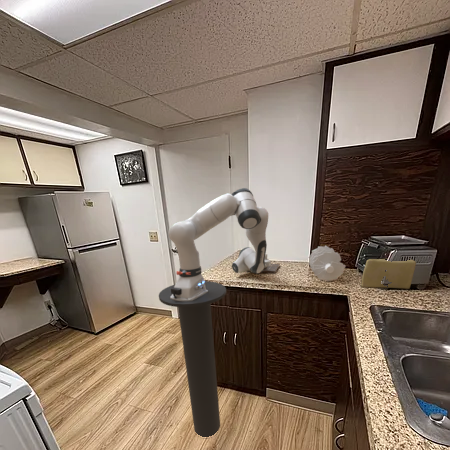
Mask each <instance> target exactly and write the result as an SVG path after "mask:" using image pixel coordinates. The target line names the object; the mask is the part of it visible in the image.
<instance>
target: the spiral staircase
mask: <svg viewBox="0 0 450 450" xmlns="http://www.w3.org/2000/svg"><path fill="white" fill-rule="evenodd" d="M308 259H309V260H308V265H309V268H310V269H311V272H312V273H313V276H314V277H317V278H318V279H319V280H320V281H326V282H330V281H334V280H338V278H339V277H340V276H342V275H343V274H344V270H345V269H346V265H345V264H344V263H342V262H341V261H342V257H341V255H340V253H339V252H336V251H335V250H334V249H333V247H329V246H327V245H324V246H319V245H318V246H317V248H315V249H313V250H311V253H310V254H309V256H308Z"/></svg>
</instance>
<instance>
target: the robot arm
mask: <svg viewBox="0 0 450 450" xmlns="http://www.w3.org/2000/svg"><path fill="white" fill-rule="evenodd" d="M233 216H236V219H237V222H238V225H239V226H240V228H242V229H244V230H245V235H246V238H247V239H248V241H249V242H250V243H251V245H252V247H253V248H252V247H250V246H247V247H244V248H242V249H240V251H239V253H238V257H237V259H236V260H234V261H233V262H232V263H231V269H232V271H233V272H234V273H235V274H243V273H248V272H247V271H251V272H250V273H251V274H261V273H260V272H261V271H262V270H263V269H264V267H267V266H270V265H271V264H272V261H271V260H270V259H269V258H267V259H266V260H265V254H267V245H268V244H267V239H266V238H267V235H266V232H267V228H268V223H269V212H268V210H267V209H266V208H265V207H263V206H257V201H256V200H255V197H254V194H253V192H252V191H251V190H250V189H249V188H246V187H243V188H239V189H236V190H234V191H233V192H232V193H224V194H222V195H219V196H217V197H215V198H214V199H212V200H210V201H209V202H208V203H206V204H205V205H203V206H202V207H200V208H199V209H197V211H196V212H194V213H193V214H192V215H191V216H190V217H189V218H186V219H184V220H180V221H177V222H175V223H173V224H172V225H171V226H170V227H169V229H168V237H169V239H170V241H171V242H172V243H173V244H174V246H175V250H176V252H177V255H178V261H179V270H177V271H176V275H177V276H178V278H177V280H176V282H175V284H174V285H175V286H174V288H172V289H171V294H172V295H171V297H170V299H172V300H176V301H193V300H195V299H197V298H198V297H200V296H202V295H204V294H206V293H208V290H206V287H205V281H206V280H205V277H204V276H203V275H202V266H201V261H200V260H201V259H200V252H199V250H198V249H197V247H196V243H195V240H197V239H199V238H200V237H202V236H203V235H204V234H206V233H207V232H209V231H210V230H212V229H213V228H215V227H217V226H218V225H220V224H221V223H223V222H224V221H226V220H227V219H229V218H230V217H233Z"/></svg>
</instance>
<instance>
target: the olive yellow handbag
mask: <svg viewBox="0 0 450 450" xmlns="http://www.w3.org/2000/svg"><path fill="white" fill-rule="evenodd" d="M385 259H386V258H369V259H367V260H366V262H365V265H364V268H363V272H362V277H361V283H360V286H361V287H362V288H378V289H379V288H380V289H381V288H383V289H400V290H401V289H402V290H403V289H404V290H409V289H411V285H412V282H413V278H414V274H415V269H416V265H417V262H416V260H413V259H411V260H407V261H392V262H391V261H387V260H385ZM385 270H387V271H386V272H385ZM384 276H386V280H387V279H388V281H389V282H392V283H391V284H388V287H387V286H384V285H383V284H381V281H382V279H383V277H384Z"/></svg>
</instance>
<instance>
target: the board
mask: <svg viewBox="0 0 450 450" xmlns="http://www.w3.org/2000/svg"><path fill="white" fill-rule="evenodd" d="M280 265H281V264H280V263H271V265H270V266H267V267H266V268H264V269H263V270H262V271H261V272H260V273H259V274H276V272H278V269H279V268H280ZM246 273H252V272H251V271H247V272H246Z"/></svg>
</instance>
